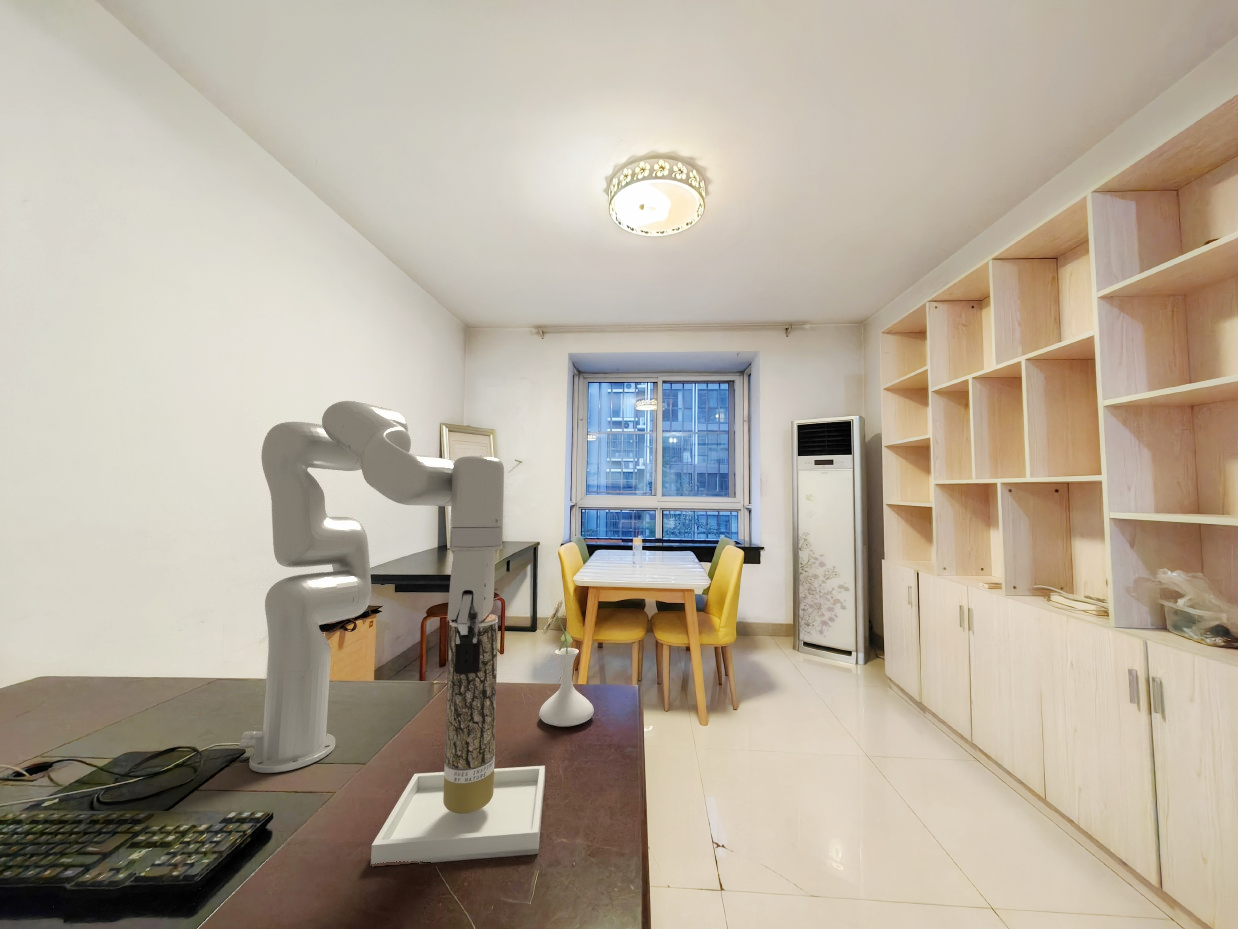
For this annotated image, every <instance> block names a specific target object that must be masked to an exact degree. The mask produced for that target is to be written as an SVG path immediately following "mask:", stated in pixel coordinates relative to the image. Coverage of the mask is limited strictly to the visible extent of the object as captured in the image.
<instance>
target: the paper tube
mask: <svg viewBox="0 0 1238 929" xmlns="http://www.w3.org/2000/svg"><path fill="white" fill-rule="evenodd" d="M498 618H499V617H498V615H496V614H491V613H489V614H488V615H487V616H486V618H485V619H483V620H482V621H481V622H480V626H479V636H478V642H480V669H479V671H478V672H477V673H463V674H457V673H455V650H456V636H457V629H458V623H457V622H458V619H457V620H456V621H455V622H453V623H451V622H450V621H449V624H448V628H449V629H448V648H447V649H448V652H447V680H446V682H447V684H446V708H445V715H446V716H445V740H444V742H445V743H444V761H443V762H444V764H443V765H444V766H443V768H444V770H443V772H444V794H443V802H444V805H445V807H446V808H447V809H448V810H449V811H451V812H454V813H459V814H465V813H471V812H474V811H477V810H479V809H481V808H483V807H484V806H486V805H487V804H488V803H489V802H490V800H491V798H492V797H493V793H494V769H495V755H496V754H495V753H496V752H495V751H496V719H497V718H496V716H497V714H496V713H497V712H496V711H497V707H496V706H497V680H498V679H497V674H498V673H497V671H498V670H497V668H498V636H499V635H498V632H499V628H498V627H499V620H498ZM470 619H476V616H470ZM469 626H472V628H473V633H474V625H469Z"/></svg>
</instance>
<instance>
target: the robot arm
mask: <svg viewBox="0 0 1238 929" xmlns="http://www.w3.org/2000/svg"><path fill="white" fill-rule="evenodd" d="M411 440H412V439H411V436H410V434H409V427H408V424H407V421H406V419H405V418H404V417H403V416H402V415H401V414H400V413H399V412H397V411H396V410H393V409H390V408H386V407H382V406H377V405H373V404H368V403H363V402H360V401H354V400H353V401H352V400H342V401H338V402H336V403H333V404H331V405H330V406H329V407H327V408H326V409H325V411H324V413H323V414H322V418H321V424H319V423H312V422H305V421H285V422H280V423H278V424H277V423H276V425H274V426H272V427H271V428H270V429H269V431H268V432H267V433H266V436H265V437H264V440H263V442H262V447H261V466H262V470H263V473H264V478H265V480H266V483H267V486H268V490H269V494H270V500H271V521H272V522H271V523H272V524H271V525H272V526H271V527H272V545H273V554H274V558H275V561H276V562H277V563H278V564H279V565H280V566H282V567H286V568H308V567H319V566H329V565H331V567H332V571H326V572H324V571H323V572H322V571H321V572H312V573H305V574H297V575H291V576H288V577H285V578H282V579H280V580H278V581H277V582H275V583H274V584H273V585H272V586H270V588H269V590H268V591H267V593H266V596H265V599H264V611H265V617H266V625H267V636H268V637H267V638H268V644H267V648H268V651H267V654H268V655H267V665H266V666H267V668H266V681H265V682H266V685H265V696H264V698H265V699H264V711H263V713H264V715H263V723H262V724H263V726H262V730H261V731H257V730H254V731H249V730H248V731H244V732H243V733H242V735H241V737H240V742H239V745H238V747H239V749H241V750H242V749H249V748H250V749H251V748H253V750H254V752H253V753H252V754H251V756H250V757H249V763H248V765H249V769H251V771H253V772H256V773H261V774H273V773H282V772H283V773H284V772H288V771H293V770H297V769H300V768H302V767H306V766H309V765H311V764H313V763H316V762H318V761H321V760H322V759H323V758H325V757H327V755H328V756H329V754H330V753H331V752H332V751H334V749H335V747H336V737H335V736H334V735H332V734H330V733H328V732H327V725H328V724H327V722H328V707H329V705H328V704H329V691H330V690H329V689H330V676H331V675H330V674H331V672H330V671H331V655H332V654H331V652H332V651H331V645H330V642H329V640H328V639H327V637H326V636H325V635H324V633H323V632H322V631H321V629H320V625H321V626H322V625H324V624H327V623H333V622H337V621H342V620H346V619H351V618H355V617H357V616H359V615H362V614H363V613H364V612H365V611H366V610H367V609H368V606H369V604H370V602H371V598H372V579H371V576H372V575H371V564H370V563H371V562H370V550H369V540H368V535H367V532H366V530H365V528H364V526H363V525H362V523H361V522H359V520H357V519H355V518H353V517H348V516H329V515H328V513H327V511H326V497H325V492H324V490H323V488H322V487H321V485H320V483H319V481H317V479H316V478H315V477H314V476H313V475H312V474H311V473H310V471H308V469H309V468H312V469H322V470H333V471H344V472H345V471H346V472H353V471H354V472H356V471H360V470H361V471H362V472H361V473H362V476H363V479H364V480H365V482H366V483H367V484H368V485H369V486H370V487H372V488H373V489H374V490H375V491H377V492H378V493H379V494H380V495H382V496H384V497H385V498H386V499H388V500H391V501H392V502H394V503H397V504H401V505H404V506H430V507H431V506H433V507H434V506H435V507H450V524H449V526H450V528H449V551H453V557H452V563H451V564H452V565H451V571H450V580H449V591H448V592H449V593H448V594H449V595H448V604H447V606H448V607H447V620H448V621H449V623H450V622H451V623H453V622H455V621H456V620H457V619H458V622H457V623H458V629H457V636H456V650H455V673H457V674H463V673H477V672H478V671H479V669H480V642H478V636H479V626H480V622H481V621H482V620H483V619H485V618H486V616H487V615H488V614H491V612H492V609H493V607H494V598H495V597H494V596H495V577H496V576H495V573H496V572H495V569H496V566H495V564H496V559H495V558H496V556H495V555H496V553H495V552H496V551H497V550H503V528H504V525H503V524H504V492H505V491H504V488H505V487H504V484H505V480H504V479H505V467H504V463H503V462H502V460H500V459H499V458H496V457H491V456H482V455H480V456H479V455H469V456H468V455H467V456H461V457H459V458H456V459H447V458H443V457H435V456H429V455H420V454H414V453H410V450H411V447H412V441H411ZM470 616H476V619H470ZM469 625H474V633H473V628H472V626H469Z"/></svg>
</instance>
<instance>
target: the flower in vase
mask: <svg viewBox="0 0 1238 929" xmlns="http://www.w3.org/2000/svg"><path fill="white" fill-rule="evenodd" d="M563 600H564V599H559V600H558V602H557V605H555V607H554V609H553V612H552V615H551V616H550V617H549V618H548V619H547V622H548V623H547V624H546V625H545V626H544V628H543V629H542V636H543V635H544V636H545V635H546V634H547V633H548V632H549V631H550V630H551V628H552V626H553V625H554V623H556V622H558V624H559V626H560V628H561V630H562V633H563V634H562V635H561V637H560V641H561V644H560V646H559V648H558V649H556V650H555V651H554V654H555V655H556V656H557V658H558V660H559V664H560V665H559V666H560V670H561V675H560V676H561V679H560V680H561V683H560V687H559V689H558V690H557V691H556V692H555V693H554V694H553V695H552V696H550V697H549V698H548V699H546V701H545V702H544V703H543V704H542V705H541V707H540V708H539V712H538V716H539V717H540V719H541V721H542V722H544V723H545V724H548V725H550V726H556V727H573V726H577V725H581V724H583V723H585V722H587V721H588V720H590V719H591V718H592V716H593V715H594V712H595V710H594V706H593V703H591V702H590V700H589V699H588V698H586V697H585V696H584V695H582V694H581V693H580V692H579V691H578V690H576V688H575V687H574V684H573V668H574V667H573V666H574V663H575V659H576V656H578V655H579V652H580V651H579V649H577V648H572V647H570V645H572V643H573V642H574V641H573V639H572V636H571V635H570V634H569V632H568V630H565V629H564V626H563V624H562V622H561V620H560V618H559V613H560V611H561V609H562V606H563V603H564V601H563ZM564 646H565V648H564Z"/></svg>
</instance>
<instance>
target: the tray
mask: <svg viewBox="0 0 1238 929" xmlns="http://www.w3.org/2000/svg"><path fill="white" fill-rule="evenodd" d="M545 778H546V765H534V766H531V765H530V766H519V767H504V768H503V767H501V768H500V767H499V768H494V793H493V797H492V798H491V800H490V802H489V803H488V804H487V805H486V806H484V807H483V808H481V809H479V810H477V811H474V812H471V813H465V814H459V813H454V812H451V811H449V810H448V809H447V808H446V807H445V805H444V802H443V794H444V771H439V772H421V773H419V772H418V773H414V774H413V776H412V777H411V779H410V780H409V782H408V784H407V785H406V788H405V789H404V791H403V792H402V794H401V796H400V797H399V799H398V801H397V802H396V804H395V806H394V808H393V809H392V810H391V812H390V814H389V816H388V817H387V818H386V821H385V822H384V824H383V825H382V827H381V829H380V831H379V832H378V834H377V835H376V837H375V839H374V841H373V842H372V844H371V851H370V853H371V854H370V865H371V864H375V863H376V864H377V863H383V862H384V863H386V862H396V861H397V862H399V861H401V862H403V861H405V862H407V861H408V862H411V861H418V862H420V861H423V862H431V863H440V862H441V863H442V862H443V863H444V862H454V861H455V862H456V861H467V860H478V859H479V860H481V859H490V858H491V859H492V858H503V857H514V856H517V857H518V856H527V855H538V854H539V849H540V848H539V847H540V839H541V837H540V836H541V827H542V815H543V804H544V794H545V786H546V785H545V783H546V782H545V780H546V779H545Z"/></svg>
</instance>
